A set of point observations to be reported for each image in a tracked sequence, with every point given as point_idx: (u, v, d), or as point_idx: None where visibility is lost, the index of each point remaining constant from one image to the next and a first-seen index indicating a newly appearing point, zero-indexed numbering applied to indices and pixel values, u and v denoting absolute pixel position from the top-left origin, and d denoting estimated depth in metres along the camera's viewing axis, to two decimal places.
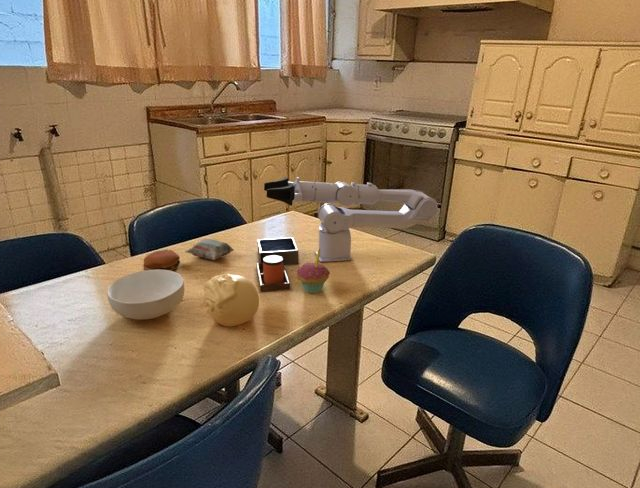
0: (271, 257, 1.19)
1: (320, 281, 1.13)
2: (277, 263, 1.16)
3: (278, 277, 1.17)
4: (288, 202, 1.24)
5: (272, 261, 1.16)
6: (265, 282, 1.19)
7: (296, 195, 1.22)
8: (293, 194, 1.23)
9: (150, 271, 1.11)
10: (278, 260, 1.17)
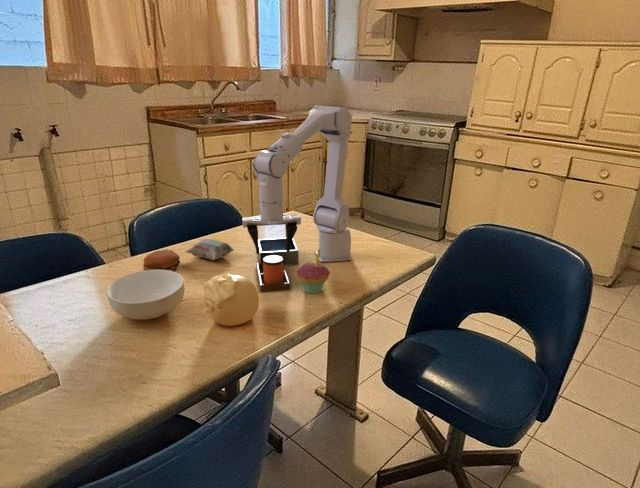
0: (271, 257, 1.19)
1: (320, 281, 1.13)
2: (277, 263, 1.16)
3: (278, 277, 1.17)
4: None
5: (272, 261, 1.16)
6: (265, 282, 1.19)
7: (300, 222, 1.15)
8: None
9: (150, 271, 1.11)
10: (278, 260, 1.17)
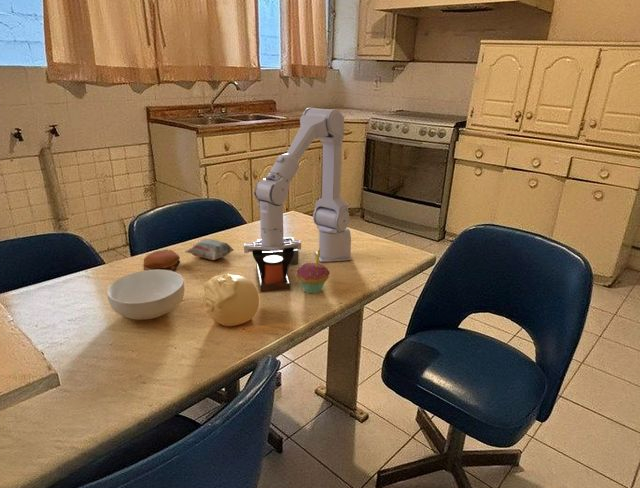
0: (271, 257, 1.19)
1: (320, 281, 1.13)
2: (277, 263, 1.16)
3: (278, 277, 1.17)
4: None
5: (272, 261, 1.16)
6: (265, 282, 1.19)
7: (300, 247, 1.18)
8: None
9: (150, 271, 1.11)
10: (278, 260, 1.17)
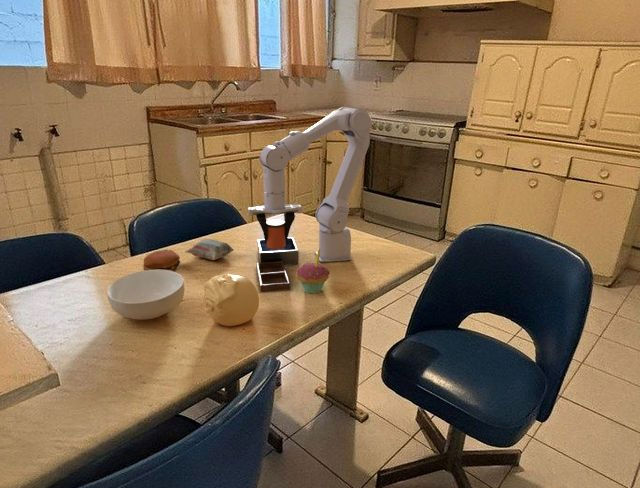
0: (274, 221, 1.27)
1: (320, 281, 1.13)
2: (279, 226, 1.25)
3: (280, 239, 1.26)
4: None
5: (275, 224, 1.25)
6: (268, 244, 1.27)
7: None
8: None
9: (150, 271, 1.11)
10: (280, 223, 1.26)
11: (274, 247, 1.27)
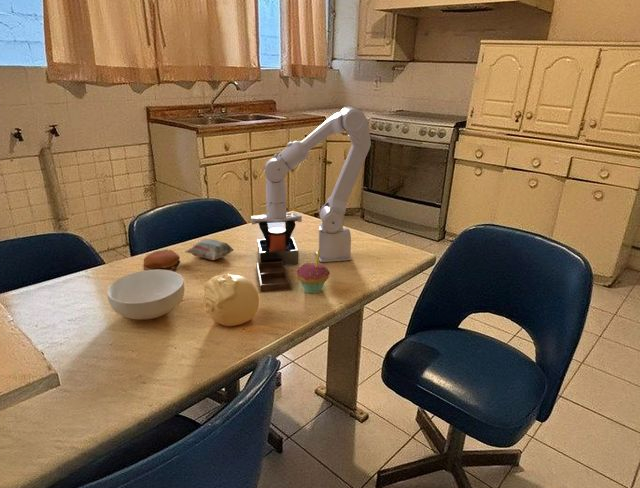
0: (275, 229, 1.35)
1: (320, 281, 1.13)
2: (281, 233, 1.32)
3: (281, 246, 1.33)
4: None
5: (276, 232, 1.32)
6: None
7: (301, 220, 1.33)
8: (294, 222, 1.33)
9: (150, 271, 1.11)
10: (281, 231, 1.33)
11: None
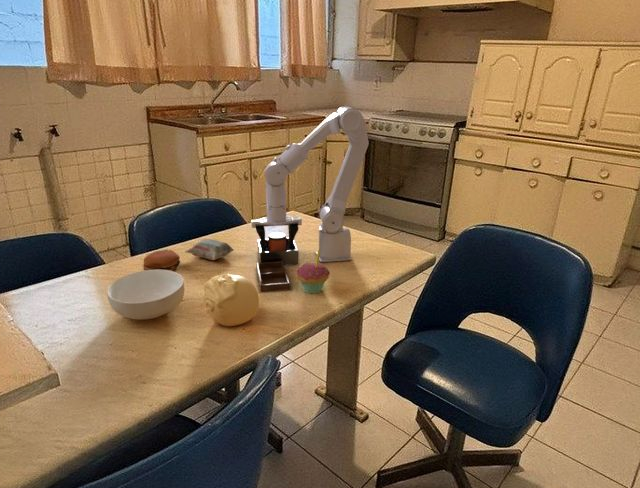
0: (275, 233, 1.35)
1: (320, 281, 1.13)
2: (281, 238, 1.32)
3: None
4: None
5: (276, 237, 1.33)
6: None
7: (301, 223, 1.34)
8: (297, 226, 1.34)
9: (150, 271, 1.11)
10: (281, 236, 1.33)
11: None
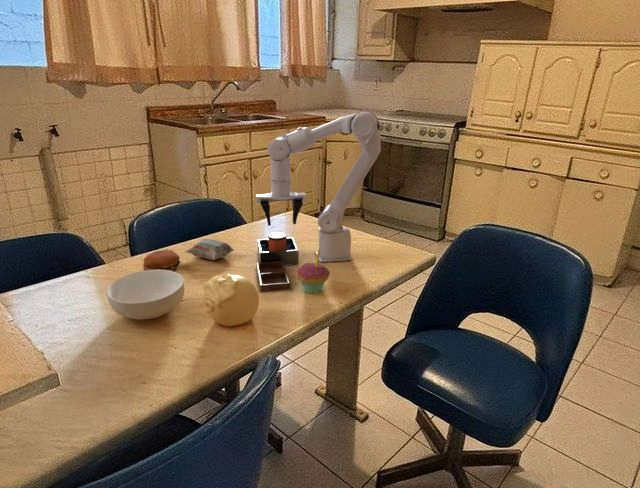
0: (275, 233, 1.35)
1: (320, 281, 1.13)
2: (281, 238, 1.32)
3: None
4: None
5: (276, 237, 1.33)
6: None
7: (305, 199, 1.36)
8: (301, 201, 1.36)
9: (150, 271, 1.11)
10: (281, 236, 1.33)
11: None
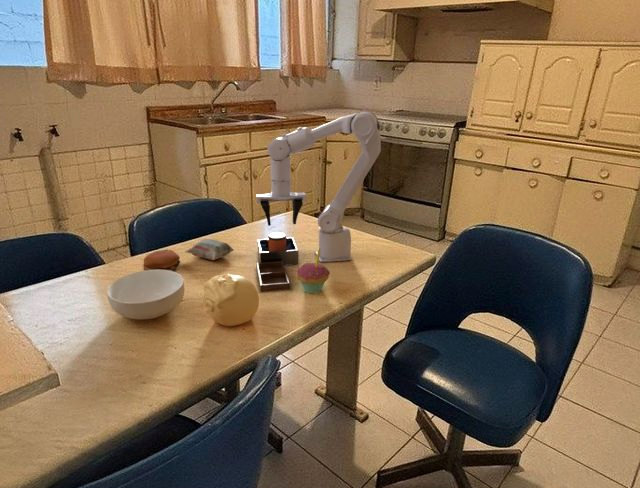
0: (275, 233, 1.35)
1: (320, 281, 1.13)
2: (281, 238, 1.32)
3: None
4: None
5: (276, 237, 1.33)
6: None
7: (305, 199, 1.36)
8: (301, 201, 1.36)
9: (150, 271, 1.11)
10: (281, 236, 1.33)
11: None
